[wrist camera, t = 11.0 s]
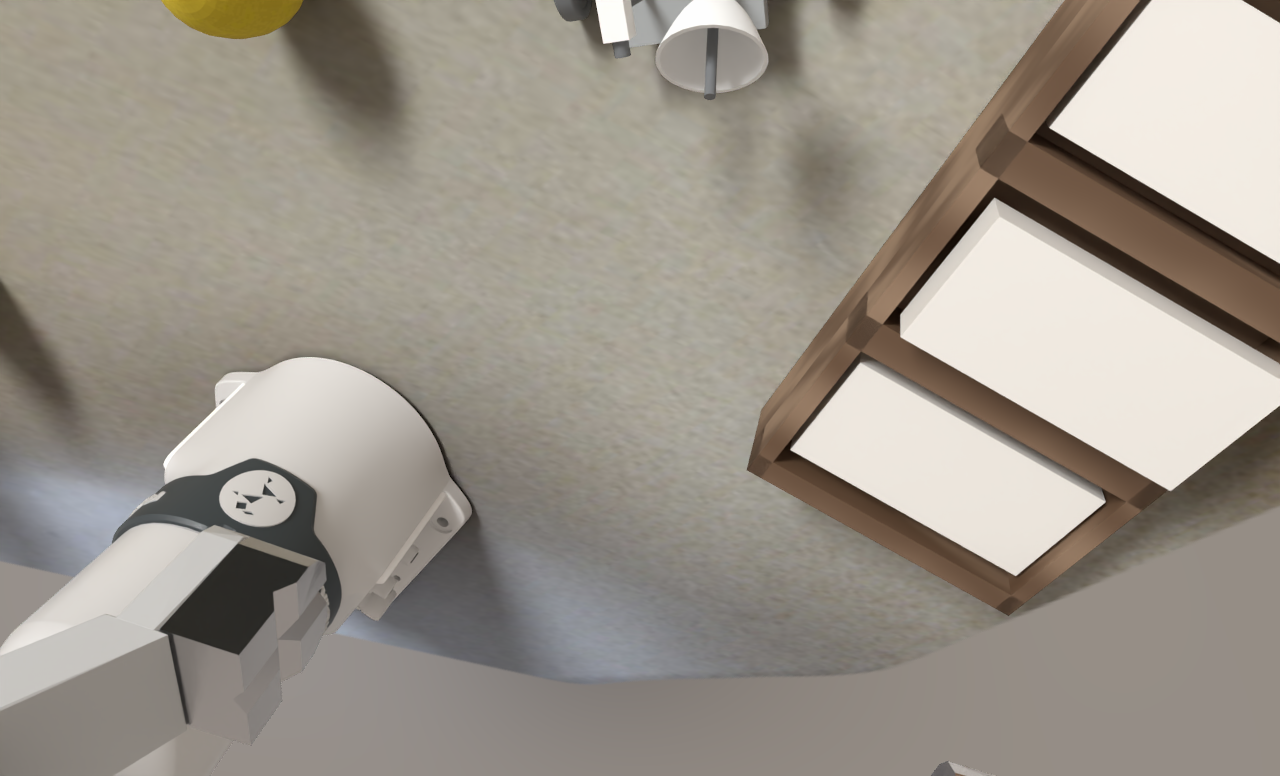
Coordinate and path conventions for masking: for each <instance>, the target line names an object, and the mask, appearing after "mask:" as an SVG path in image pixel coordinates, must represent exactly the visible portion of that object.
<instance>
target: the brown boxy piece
mask: <svg viewBox="0 0 1280 776" xmlns="http://www.w3.org/2000/svg"><path fill="white" fill-rule="evenodd" d="M1139 1H1140V0H1065V1H1064V2H1063V3H1062V5H1061V6H1060V7H1059V9H1058V10H1057V11H1056V13H1055V14H1054V15H1053V17H1052V18H1051V20H1050V21H1049V22H1048V24H1047V25H1046V26H1045V28H1044V29H1043V30H1042V32H1041V33H1040V34H1039V36H1038V37H1037V38H1036V40H1035V41H1034V42H1033V44H1032V45H1031V47H1030V48H1029V49H1028V51H1027V52H1026V53H1025V55H1024V56H1023V57H1022V59H1021V60H1020V61H1019V63H1018V64H1017V65H1016V67H1015V68H1014V69H1013V71H1012V72H1011V74H1010V75H1009V76H1008V78H1007V79H1006V80H1005V82H1004V83H1003V84H1002V86H1001V87H1000V88H999V90H998V91H997V92H996V94H995V95H994V97H993V98H992V99H991V101H990V102H989V103H988V105H987V106H986V107H985V109H984V110H983V111H982V113H981V114H980V115H979V117H978V118H977V119H976V121H975V122H974V124H973V125H972V126H971V128H970V129H969V130H968V132H967V133H966V134H965V136H964V137H963V138H962V140H961V141H960V142H959V144H958V145H957V146H956V148H955V149H954V151H953V152H952V153H951V155H950V156H949V157H948V159H947V160H946V161H945V163H944V164H943V165H942V167H941V168H940V169H939V171H938V172H937V174H936V175H935V176H934V178H933V179H932V180H931V182H930V183H929V184H928V186H927V187H926V188H925V190H924V191H923V192H922V194H921V195H920V196H919V198H918V199H917V201H916V202H915V203H914V205H913V206H912V207H911V209H910V210H909V211H908V213H907V214H906V215H905V217H904V218H903V219H902V221H901V222H900V223H899V225H898V226H897V228H896V229H895V230H894V232H893V233H892V234H891V236H890V237H889V238H888V240H887V241H886V242H885V244H884V245H883V246H882V248H881V249H880V251H879V252H878V253H877V255H876V256H875V257H874V259H873V260H872V261H871V263H870V264H869V265H868V267H867V268H866V269H865V271H864V272H863V273H862V275H861V276H860V278H859V279H858V280H857V282H856V283H855V284H854V286H853V287H852V288H851V290H850V291H849V292H848V294H847V295H846V296H845V298H844V299H843V300H842V302H841V303H840V305H839V306H838V307H837V309H836V310H835V311H834V313H833V314H832V315H831V317H830V318H829V319H828V321H827V322H826V323H825V325H824V326H823V328H822V329H821V330H820V332H819V333H818V334H817V336H816V337H815V338H814V340H813V341H812V342H811V344H810V345H809V346H808V348H807V349H806V350H805V352H804V353H803V355H802V356H801V357H800V359H799V360H798V361H797V363H796V364H795V365H794V367H793V368H792V369H791V371H790V372H789V373H788V375H787V376H786V377H785V379H784V380H783V382H782V383H781V384H780V386H779V387H778V388H777V390H776V391H775V392H774V394H773V395H772V396H771V398H770V399H769V400H768V402H767V403H766V405H765V406H764V407H763V409H762V410H761V414H760V418H759V422H758V427H757V431H756V435H755V439H754V443H753V447H752V451H751V455H750V459H749V463H748V467H747V470H748V471H749V472H751V473H753V474H755V475H757V476H758V477H760V478H762V479H764V480H766V481H767V482H769V483H771V484H773V485H775V486H776V487H778V488H780V489H782V490H784V491H785V492H787V493H789V494H791V495H793V496H794V497H796V498H798V499H800V500H802V501H803V502H805V503H807V504H809V505H811V506H812V507H814V508H816V509H818V510H820V511H821V512H823V513H825V514H827V515H829V516H830V517H832V518H834V519H836V520H837V521H839V522H841V523H843V524H845V525H846V526H848V527H850V528H852V529H854V530H855V531H857V532H859V533H861V534H863V535H864V536H866V537H868V538H870V539H872V540H873V541H875V542H877V543H879V544H881V545H882V546H884V547H886V548H888V549H890V550H891V551H893V552H895V553H897V554H899V555H900V556H902V557H904V558H906V559H908V560H909V561H911V562H913V563H915V564H917V565H918V566H920V567H922V568H924V569H926V570H927V571H929V572H931V573H933V574H934V575H936V576H938V577H940V578H942V579H943V580H945V581H947V582H949V583H951V584H952V585H954V586H956V587H958V588H960V589H961V590H963V591H965V592H967V593H969V594H970V595H972V596H974V597H976V598H978V599H979V600H981V601H983V602H985V603H987V604H988V605H990V606H992V607H994V608H996V609H997V610H999V611H1001V612H1003V613H1005V614H1006V615H1008V616H1009V615H1010V614H1011V613H1013V612H1014V611H1015V610H1017V609H1018V608H1019V607H1020V606H1022V605H1023V604H1024V603H1025V602H1027V601H1028V600H1029V599H1030V598H1032V597H1033V596H1034V595H1036V594H1037V593H1038V592H1039V591H1041V590H1042V589H1043V588H1044V587H1046V586H1047V585H1048V584H1050V583H1051V582H1052V581H1053V580H1055V579H1056V578H1057V577H1058V576H1060V575H1061V574H1062V573H1063V572H1065V571H1066V570H1067V569H1069V568H1070V567H1071V566H1072V565H1074V564H1075V563H1076V562H1077V561H1079V560H1080V559H1081V558H1083V557H1084V556H1085V555H1086V554H1088V553H1089V552H1090V551H1091V550H1093V549H1094V548H1095V547H1096V546H1098V545H1099V544H1100V543H1102V542H1103V541H1104V540H1105V539H1107V538H1108V537H1109V536H1110V535H1112V534H1113V533H1114V532H1116V531H1117V530H1118V529H1119V528H1121V527H1122V526H1123V525H1124V524H1126V523H1127V522H1128V521H1129V520H1131V519H1132V518H1133V517H1135V516H1136V515H1137V514H1138V513H1140V512H1141V511H1142V510H1143V509H1145V508H1146V507H1147V506H1149V505H1150V504H1151V503H1152V502H1154V501H1155V500H1156V499H1157V498H1159V497H1160V496H1161V495H1162V494H1164V493H1165V492H1166V491H1168V489H1166V488H1164V487H1162V486H1161V485H1159V484H1157V483H1155V482H1154V481H1152V480H1150V479H1148V478H1147V477H1145V476H1143V475H1141V474H1140V473H1138V472H1136V471H1134V470H1133V469H1131V468H1129V467H1127V466H1126V465H1124V464H1122V463H1120V462H1119V461H1117V460H1115V459H1113V458H1112V457H1110V456H1108V455H1106V454H1105V453H1103V452H1101V451H1099V450H1097V449H1096V448H1094V447H1092V446H1090V445H1089V444H1087V443H1085V442H1083V441H1082V440H1080V439H1078V438H1076V437H1075V436H1073V435H1071V434H1069V433H1068V432H1066V431H1064V430H1062V429H1061V428H1059V427H1057V426H1055V425H1054V424H1052V423H1050V422H1048V421H1047V420H1045V419H1043V418H1041V417H1040V416H1038V415H1036V414H1034V413H1033V412H1031V411H1029V410H1027V409H1026V408H1024V407H1022V406H1020V405H1019V404H1017V403H1015V402H1013V401H1012V400H1010V399H1008V398H1006V397H1005V396H1003V395H1001V394H999V393H998V392H996V391H994V390H992V389H990V388H989V387H987V386H985V385H983V384H982V383H980V382H978V381H976V380H975V379H973V378H971V377H969V376H968V375H966V374H964V373H962V372H961V371H959V370H957V369H955V368H954V367H952V366H950V365H948V364H947V363H945V362H943V361H941V360H940V359H938V358H936V357H934V356H933V355H931V354H929V353H927V352H926V351H924V350H922V349H920V348H919V347H917V346H915V345H913V344H912V343H910V342H908V341H906V340H905V339H903V338H901V337H900V314H901V313H902V312H903V311H904V309H905V308H906V307H907V306H908V305H909V303H910V302H911V301H912V300H913V298H914V297H915V296H916V295H917V293H918V292H919V291H920V290H921V288H922V287H923V286H924V285H925V283H926V282H927V281H928V280H929V278H930V277H931V276H932V275H933V273H934V272H935V271H936V270H937V268H938V267H939V266H940V265H941V264H942V262H943V261H944V260H945V259H946V257H947V256H948V255H949V254H950V252H951V251H952V250H953V249H954V247H955V246H956V245H957V244H958V242H959V241H960V240H961V239H962V237H963V236H964V235H965V234H966V232H967V231H968V230H969V229H970V228H971V226H972V225H973V224H974V223H975V221H976V220H977V219H978V218H979V216H980V215H981V214H982V213H983V211H984V210H985V209H986V208H987V206H988V205H989V204H990V203H991V201H992V200H993V199H994V198H996V199H998V200H999V201H1001V202H1003V203H1004V204H1006V205H1008V206H1010V207H1011V208H1013V209H1015V210H1016V211H1018V212H1020V213H1022V214H1023V215H1025V216H1027V217H1028V218H1030V219H1032V220H1034V221H1035V222H1037V223H1039V224H1041V225H1042V226H1044V227H1046V228H1047V229H1049V230H1051V231H1053V232H1054V233H1056V234H1058V235H1059V236H1061V237H1063V238H1065V239H1066V240H1068V241H1070V242H1071V243H1073V244H1075V245H1077V246H1078V247H1080V248H1082V249H1083V250H1085V251H1087V252H1089V253H1090V254H1092V255H1094V256H1095V257H1097V258H1099V259H1101V260H1102V261H1104V262H1106V263H1108V264H1109V265H1111V266H1113V267H1114V268H1116V269H1118V270H1120V271H1121V272H1123V273H1125V274H1126V275H1128V276H1130V277H1132V278H1133V279H1135V280H1137V281H1138V282H1140V283H1142V284H1144V285H1145V286H1147V287H1149V288H1150V289H1152V290H1154V291H1156V292H1157V293H1159V294H1161V295H1163V296H1164V297H1166V298H1168V299H1169V300H1171V301H1173V302H1175V303H1176V304H1178V305H1180V306H1181V307H1183V308H1185V309H1187V310H1188V311H1190V312H1192V313H1193V314H1195V315H1197V316H1199V317H1200V318H1202V319H1204V320H1205V321H1207V322H1209V323H1211V324H1212V325H1214V326H1216V327H1217V328H1219V329H1221V330H1223V331H1224V332H1226V333H1228V334H1230V335H1231V336H1233V337H1235V338H1236V339H1238V340H1240V341H1242V342H1243V343H1245V344H1247V345H1248V346H1250V347H1252V348H1254V349H1255V350H1257V351H1259V352H1260V353H1262V354H1264V355H1266V356H1267V357H1269V358H1271V359H1272V360H1274V361H1276V362H1278V363H1279V364H1280V263H1278V262H1276V261H1275V260H1273V259H1271V258H1269V257H1268V256H1266V255H1264V254H1263V253H1261V252H1259V251H1258V250H1256V249H1254V248H1252V247H1251V246H1249V245H1247V244H1246V243H1244V242H1242V241H1241V240H1239V239H1237V238H1235V237H1234V236H1232V235H1230V234H1229V233H1227V232H1225V231H1224V230H1222V229H1220V228H1218V227H1217V226H1215V225H1213V224H1212V223H1210V222H1208V221H1207V220H1205V219H1203V218H1201V217H1200V216H1198V215H1196V214H1195V213H1193V212H1191V211H1190V210H1188V209H1186V208H1184V207H1183V206H1181V205H1179V204H1178V203H1176V202H1174V201H1173V200H1171V199H1169V198H1167V197H1166V196H1164V195H1162V194H1161V193H1159V192H1157V191H1156V190H1154V189H1152V188H1150V187H1149V186H1147V185H1145V184H1144V183H1142V182H1140V181H1139V180H1137V179H1135V178H1133V177H1132V176H1130V175H1128V174H1127V173H1125V172H1123V171H1122V170H1120V169H1118V168H1116V167H1115V166H1113V165H1111V164H1110V163H1108V162H1106V161H1105V160H1103V159H1101V158H1100V157H1098V156H1096V155H1094V154H1093V153H1091V152H1089V151H1088V150H1086V149H1084V148H1083V147H1081V146H1079V145H1077V144H1076V143H1074V142H1072V141H1071V140H1069V139H1067V138H1066V137H1064V136H1062V135H1060V134H1059V133H1057V132H1055V131H1054V130H1052V129H1050V128H1049V127H1048V125H1047V123H1046V121H1045V119H1046V118H1047V117H1048V116H1049V114H1050V113H1051V112H1052V111H1053V109H1054V108H1055V107H1056V106H1057V104H1058V103H1059V102H1060V101H1061V99H1062V98H1063V97H1064V96H1065V94H1066V93H1067V92H1068V91H1069V89H1070V88H1071V87H1072V86H1073V84H1074V83H1075V82H1076V81H1077V79H1078V78H1079V77H1080V75H1081V74H1082V73H1083V72H1084V70H1085V69H1086V68H1087V67H1088V65H1089V64H1090V63H1091V62H1092V60H1093V59H1094V58H1095V57H1096V55H1097V54H1098V53H1099V52H1100V50H1101V49H1102V48H1103V47H1104V45H1105V44H1106V43H1107V42H1108V40H1109V39H1110V38H1111V37H1112V35H1113V34H1114V33H1115V31H1116V30H1117V29H1118V28H1119V26H1120V25H1121V24H1122V23H1123V21H1124V20H1125V19H1126V18H1127V16H1128V15H1129V14H1130V13H1131V11H1132V10H1133V9H1134V8H1135V6H1136V5H1137V4H1138V3H1139ZM1242 1H1244V2H1246V3H1247V4H1249V5H1251V6H1252V7H1254V8H1256V9H1257V10H1259V11H1261V12H1262V13H1264V14H1266V15H1267V16H1269V17H1271V18H1272V19H1274V20H1275V21H1277V22H1279V23H1280V0H1242ZM860 352H863V353H865V354H867V355H869V356H870V357H872V358H874V359H876V360H877V361H879V362H881V363H883V364H884V365H886V366H888V367H890V368H891V369H893V370H895V371H897V372H898V373H900V374H902V375H904V376H905V377H907V378H909V379H911V380H913V381H914V382H916V383H918V384H920V385H921V386H923V387H925V388H927V389H928V390H930V391H932V392H934V393H935V394H937V395H939V396H941V397H942V398H944V399H946V400H948V401H950V402H951V403H953V404H955V405H957V406H958V407H960V408H962V409H964V410H965V411H967V412H969V413H971V414H972V415H974V416H976V417H978V418H979V419H981V420H983V421H985V422H986V423H988V424H990V425H992V426H994V427H995V428H997V429H999V430H1001V431H1002V432H1004V433H1006V434H1008V435H1009V436H1011V437H1013V438H1015V439H1016V440H1018V441H1020V442H1022V443H1023V444H1025V445H1027V446H1029V447H1031V448H1032V449H1034V450H1036V451H1038V452H1039V453H1041V454H1043V455H1045V456H1046V457H1048V458H1050V459H1052V460H1053V461H1055V462H1057V463H1059V464H1060V465H1062V466H1064V467H1066V468H1068V469H1069V470H1071V471H1073V472H1075V473H1076V474H1078V475H1080V476H1082V477H1083V478H1085V479H1087V480H1089V481H1090V482H1092V483H1094V484H1096V485H1097V486H1099V487H1101V488H1102V492H1103V495H1104V498H1105V501H1106V502H1105V503H1104V504H1103V505H1102V506H1100V507H1099V508H1098V509H1097V510H1096V511H1094V512H1093V513H1092V514H1091V515H1089V516H1088V517H1087V518H1086V519H1085V520H1083V521H1082V522H1081V523H1080V524H1079V525H1077V526H1076V527H1075V528H1074V529H1072V530H1071V531H1070V532H1069V533H1068V534H1066V535H1065V536H1064V537H1063V538H1061V539H1060V540H1059V541H1058V542H1057V543H1055V544H1054V545H1053V546H1052V547H1051V548H1049V549H1048V550H1047V551H1046V552H1044V553H1043V554H1042V555H1041V556H1040V557H1038V558H1037V559H1036V560H1035V561H1034V562H1032V563H1031V564H1030V565H1029V566H1027V567H1026V568H1025V569H1024V570H1023V571H1021V572H1020V573H1019V574H1018V575H1017V576H1015V575H1013V574H1011V573H1009V572H1008V571H1006V570H1004V569H1002V568H1000V567H999V566H997V565H995V564H993V563H992V562H990V561H988V560H986V559H984V558H983V557H981V556H979V555H977V554H975V553H974V552H972V551H970V550H968V549H967V548H965V547H963V546H961V545H959V544H958V543H956V542H954V541H952V540H950V539H949V538H947V537H945V536H943V535H941V534H940V533H938V532H936V531H934V530H933V529H931V528H929V527H927V526H925V525H924V524H922V523H920V522H918V521H916V520H915V519H913V518H911V517H909V516H908V515H906V514H904V513H902V512H900V511H899V510H897V509H895V508H893V507H891V506H890V505H888V504H886V503H884V502H882V501H881V500H879V499H877V498H875V497H874V496H872V495H870V494H868V493H866V492H865V491H863V490H861V489H859V488H857V487H856V486H854V485H852V484H850V483H849V482H847V481H845V480H843V479H841V478H840V477H838V476H836V475H834V474H832V473H831V472H829V471H827V470H825V469H823V468H822V467H820V466H818V465H816V464H815V463H813V462H811V461H809V460H807V459H806V458H804V457H802V456H800V455H798V454H797V453H795V452H793V451H791V450H790V448H791V443H792V438H793V436H794V435H795V434H796V433H797V431H798V430H799V429H800V428H801V426H802V425H803V424H804V422H805V421H806V420H807V419H808V417H809V416H810V415H811V414H812V412H813V411H814V410H815V409H816V407H817V406H818V405H819V404H820V402H821V401H822V400H823V399H824V397H825V396H826V395H827V394H828V392H829V391H830V390H831V389H832V387H833V386H834V385H835V384H836V382H837V381H838V380H839V378H840V377H841V376H842V375H843V373H844V372H845V371H846V370H847V368H848V367H849V366H850V365H851V363H852V362H853V361H854V360H855V358H856V357H857V356H858V355H859V353H860Z"/></svg>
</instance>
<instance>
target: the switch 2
mask: <svg viewBox="0 0 1280 776" xmlns="http://www.w3.org/2000/svg"><path fill="white" fill-rule="evenodd" d="M1045 121H1046V123H1047V125H1048V127H1049V128H1050V129H1052V130H1054V131H1055V132H1057V133H1059V134H1060V135H1062V136H1064V137H1066V138H1067V139H1069V140H1071V141H1072V142H1074V143H1076V144H1077V145H1079V146H1081V147H1083V148H1084V149H1086V150H1088V151H1089V152H1091V153H1093V154H1094V155H1096V156H1098V157H1100V158H1101V159H1103V160H1105V161H1106V162H1108V163H1110V164H1111V165H1113V166H1115V167H1116V168H1118V169H1120V170H1122V171H1123V172H1125V173H1127V174H1128V175H1130V176H1132V177H1133V178H1135V179H1137V180H1139V181H1140V182H1142V183H1144V184H1145V185H1147V186H1149V187H1150V188H1152V189H1154V190H1156V191H1157V192H1159V193H1161V194H1162V195H1164V196H1166V197H1167V198H1169V199H1171V200H1173V201H1174V202H1176V203H1178V204H1179V205H1181V206H1183V207H1184V208H1186V209H1188V210H1190V211H1191V212H1193V213H1195V214H1196V215H1198V216H1200V217H1201V218H1203V219H1205V220H1207V221H1208V222H1210V223H1212V224H1213V225H1215V226H1217V227H1218V228H1220V229H1222V230H1224V231H1225V232H1227V233H1229V234H1230V235H1232V236H1234V237H1235V238H1237V239H1239V240H1241V241H1242V242H1244V243H1246V244H1247V245H1249V246H1251V247H1252V248H1254V249H1256V250H1258V251H1259V252H1261V253H1263V254H1264V255H1266V256H1268V257H1269V258H1271V259H1273V260H1275V261H1276V262H1278V263H1280V23H1279V22H1277V21H1275V20H1274V19H1272V18H1271V17H1269V16H1267V15H1266V14H1264V13H1262V12H1261V11H1259V10H1257V9H1256V8H1254V7H1252V6H1251V5H1249V4H1247V3H1246V2H1244V1H1242V0H1140V1H1139V3H1138V4H1137V5H1136V6H1135V8H1134V9H1133V10H1132V11H1131V13H1130V14H1129V15H1128V16H1127V18H1126V19H1125V20H1124V21H1123V23H1122V24H1121V25H1120V26H1119V28H1118V29H1117V30H1116V31H1115V33H1114V34H1113V35H1112V37H1111V38H1110V39H1109V40H1108V42H1107V43H1106V44H1105V45H1104V47H1103V48H1102V49H1101V50H1100V52H1099V53H1098V54H1097V55H1096V57H1095V58H1094V59H1093V60H1092V62H1091V63H1090V64H1089V65H1088V67H1087V68H1086V69H1085V70H1084V72H1083V73H1082V74H1081V75H1080V77H1079V78H1078V79H1077V81H1076V82H1075V83H1074V84H1073V86H1072V87H1071V88H1070V89H1069V91H1068V92H1067V93H1066V94H1065V96H1064V97H1063V98H1062V99H1061V101H1060V102H1059V103H1058V104H1057V106H1056V107H1055V108H1054V109H1053V111H1052V112H1051V113H1050V114H1049V116H1048V117H1047V118H1046V119H1045Z"/></svg>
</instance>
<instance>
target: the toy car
mask: <svg viewBox="0 0 1280 776" xmlns="http://www.w3.org/2000/svg"><path fill="white" fill-rule="evenodd" d="M554 2H555V5H556V7H557V10H558V12H559V13H560V15H561V16H562V17H563V18H564V19H565V20H566V21H577V20H583V19H585V18H587V17H588V15H589V13H590V10H591V3H592V0H554ZM596 6H597V11H598V17H599V22H600V28H601V33H602V39H603V44H605V43H613V49H614V55H615V58H623V57H627V56H630V55H631V53H630V48H631V47H638V46H645V45H652V44H659V43H661V44H660V45H659V47H658V49H657V51H656V57H655V61H656V65H657V69H658V70H659V71H660V73H661V74H662V76H663V77H664V78H666V79H667V80H668V81H670V82H671V83H672V84H675V85H677V86H679V87H681V88H683V89H687V90H691V91H694V92H702V93H704V98H705V99H707V100H713V99H715V97H716V93H724V92H729V91H734V90H738V89H740V88H743V87H746V86H748V85H750V84H751V83H753V82H754V81H756V80H758V79H759V78H760V76H761V75H762V74H763V73H764V72H765V70H766V68H767V65H768V53H767V50H766V48H765V46H764V44H763V42H762V39H761V37H760V35H759V33H758V31H757V29H764V28H766V27H767V26H768V25H769V17H768V5H767V0H596Z"/></svg>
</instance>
